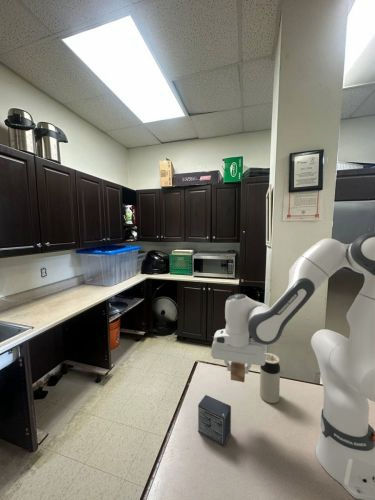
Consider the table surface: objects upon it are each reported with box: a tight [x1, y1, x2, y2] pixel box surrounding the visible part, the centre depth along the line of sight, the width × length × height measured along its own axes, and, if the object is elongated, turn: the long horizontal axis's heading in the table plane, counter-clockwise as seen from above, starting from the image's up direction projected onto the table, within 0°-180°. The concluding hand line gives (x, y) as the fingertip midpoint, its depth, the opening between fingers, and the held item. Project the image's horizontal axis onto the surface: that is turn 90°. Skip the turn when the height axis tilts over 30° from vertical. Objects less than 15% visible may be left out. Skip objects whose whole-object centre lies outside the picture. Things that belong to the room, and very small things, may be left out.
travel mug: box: [259, 352, 281, 404], centre depth 92 cm, size 8×8×18 cm
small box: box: [197, 394, 232, 447], centre depth 75 cm, size 11×6×10 cm, turn 58°
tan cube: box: [230, 361, 246, 383], centre depth 81 cm, size 5×5×5 cm
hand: (237, 371), depth 81 cm, fingers closed on tan cube, 5 cm apart
